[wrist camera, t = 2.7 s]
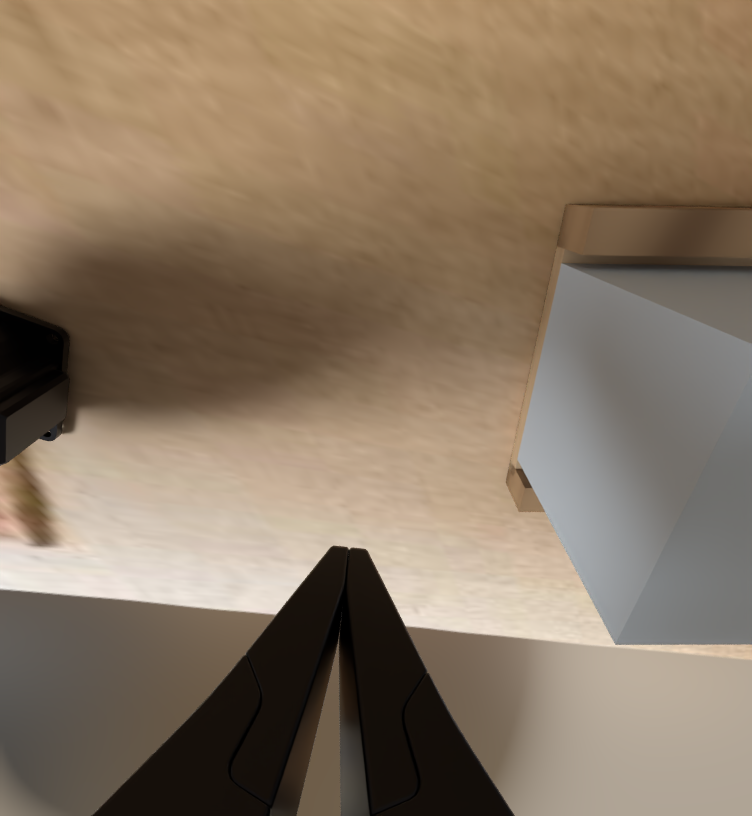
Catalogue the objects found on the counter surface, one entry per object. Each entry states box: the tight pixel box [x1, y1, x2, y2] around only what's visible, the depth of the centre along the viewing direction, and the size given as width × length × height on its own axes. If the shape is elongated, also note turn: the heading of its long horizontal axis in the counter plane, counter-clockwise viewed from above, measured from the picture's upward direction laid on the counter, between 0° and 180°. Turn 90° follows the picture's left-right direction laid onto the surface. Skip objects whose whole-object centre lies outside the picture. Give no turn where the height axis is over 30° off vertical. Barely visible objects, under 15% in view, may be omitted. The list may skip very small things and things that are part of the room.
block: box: [517, 263, 752, 645], centre depth 15 cm, size 9×10×10 cm
